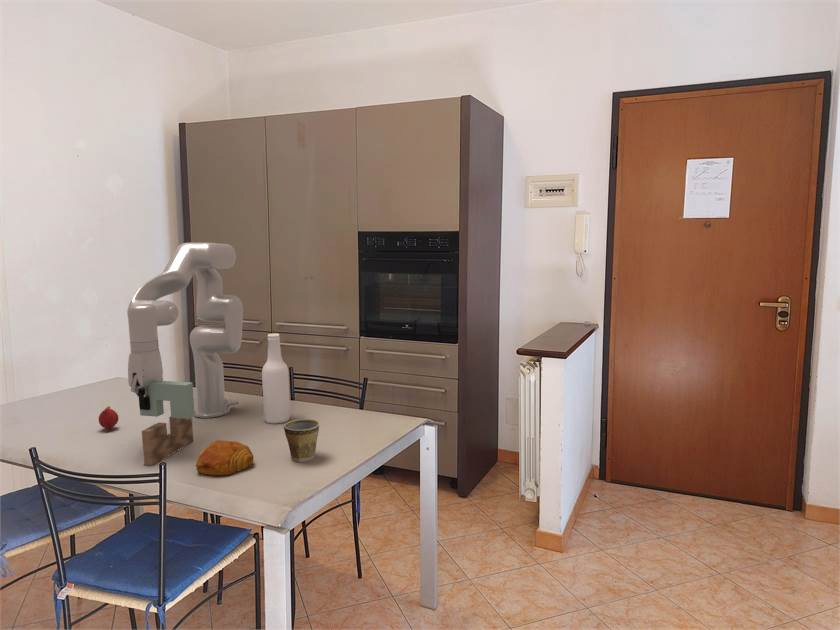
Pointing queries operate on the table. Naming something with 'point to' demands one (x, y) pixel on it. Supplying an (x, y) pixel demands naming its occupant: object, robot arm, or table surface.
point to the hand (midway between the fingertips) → (149, 407)
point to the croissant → (224, 458)
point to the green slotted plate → (170, 399)
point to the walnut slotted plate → (165, 439)
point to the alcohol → (275, 384)
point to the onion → (108, 418)
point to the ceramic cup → (302, 438)
